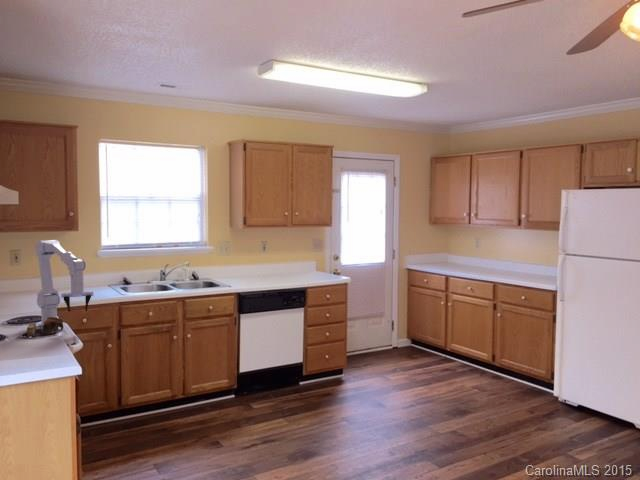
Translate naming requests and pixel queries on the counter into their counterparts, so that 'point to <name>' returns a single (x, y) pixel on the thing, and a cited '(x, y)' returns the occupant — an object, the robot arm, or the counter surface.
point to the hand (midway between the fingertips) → (77, 311)
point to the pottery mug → (52, 325)
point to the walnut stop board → (31, 329)
